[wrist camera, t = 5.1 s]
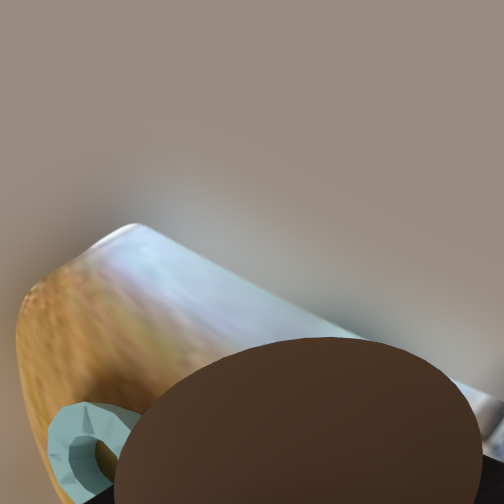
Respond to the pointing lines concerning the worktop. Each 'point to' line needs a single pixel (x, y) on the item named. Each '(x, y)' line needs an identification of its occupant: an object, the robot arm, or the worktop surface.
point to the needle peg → (306, 431)
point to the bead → (86, 445)
